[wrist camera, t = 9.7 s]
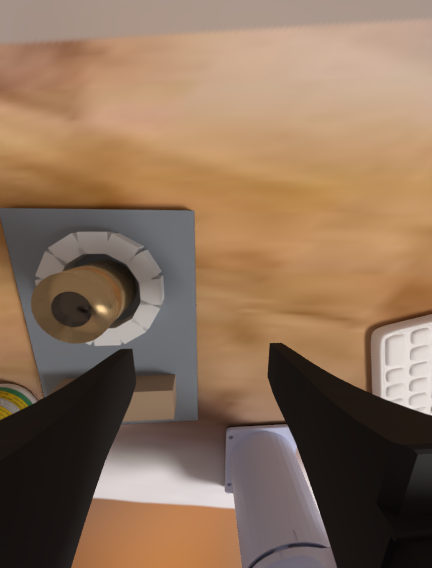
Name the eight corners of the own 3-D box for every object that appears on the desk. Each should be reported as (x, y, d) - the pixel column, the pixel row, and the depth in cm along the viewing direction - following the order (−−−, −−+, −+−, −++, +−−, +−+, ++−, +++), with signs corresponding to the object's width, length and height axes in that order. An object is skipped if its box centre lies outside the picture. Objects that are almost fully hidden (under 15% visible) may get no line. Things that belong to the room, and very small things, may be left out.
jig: (197, 411, 22) (197, 439, 19) (58, 418, 21) (36, 449, 18) (194, 211, 17) (192, 207, 14) (10, 209, 16) (-33, 204, 13)
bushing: (138, 311, 18) (115, 342, 13) (84, 312, 17) (39, 345, 12) (134, 259, 16) (106, 272, 12) (75, 260, 16) (22, 272, 11)
